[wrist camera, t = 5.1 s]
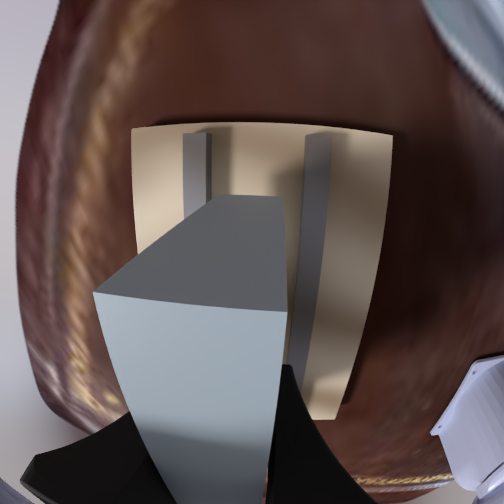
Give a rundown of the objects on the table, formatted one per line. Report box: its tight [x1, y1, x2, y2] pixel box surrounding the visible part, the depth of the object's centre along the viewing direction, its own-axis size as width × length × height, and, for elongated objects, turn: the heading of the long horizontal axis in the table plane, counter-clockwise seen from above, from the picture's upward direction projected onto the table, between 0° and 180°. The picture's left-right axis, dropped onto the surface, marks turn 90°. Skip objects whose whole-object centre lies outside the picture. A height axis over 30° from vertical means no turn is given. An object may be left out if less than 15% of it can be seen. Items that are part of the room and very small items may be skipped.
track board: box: [132, 122, 393, 420], centre depth 15 cm, size 18×12×2 cm, turn 179°
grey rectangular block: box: [93, 194, 287, 504], centre depth 9 cm, size 12×2×8 cm, turn 179°
